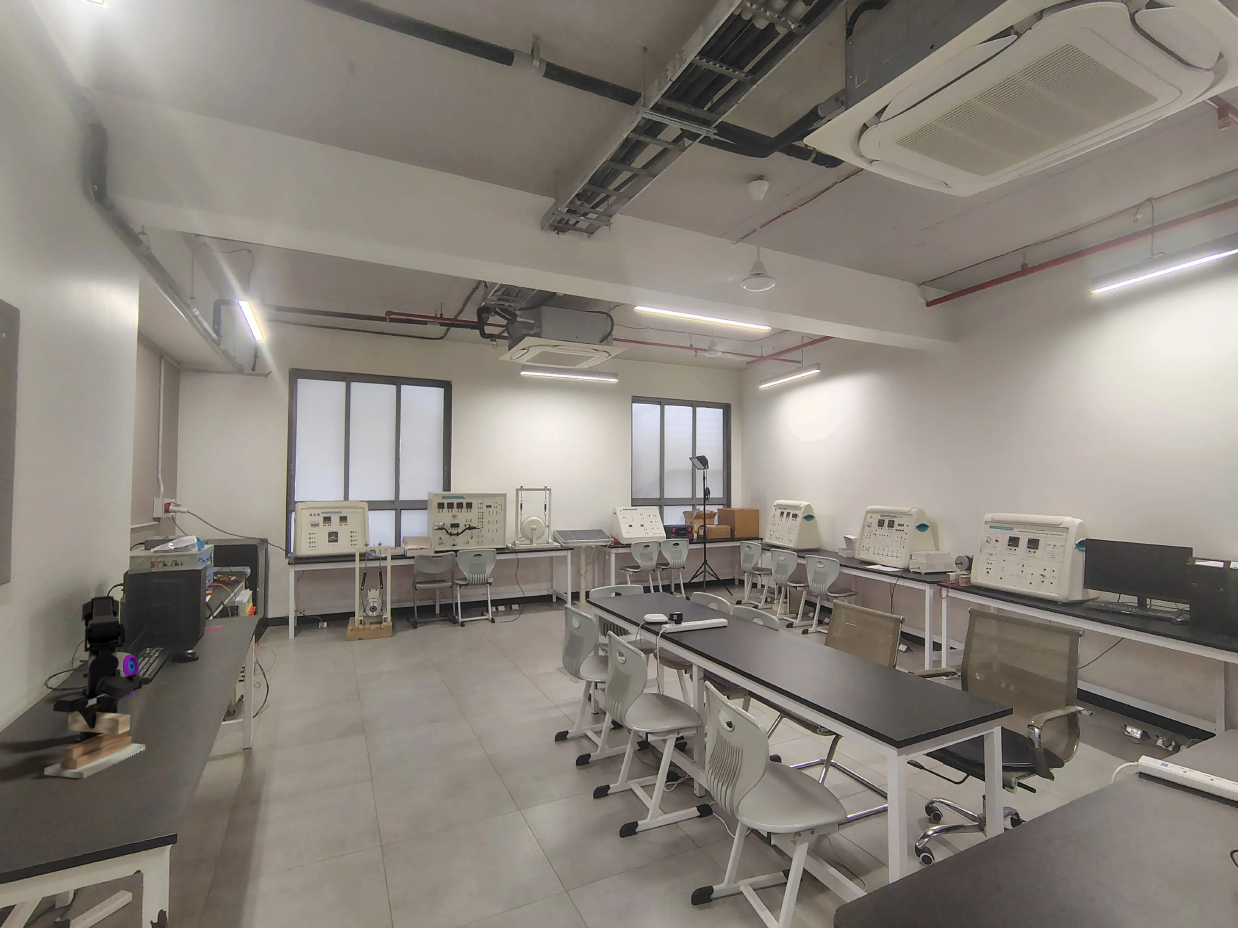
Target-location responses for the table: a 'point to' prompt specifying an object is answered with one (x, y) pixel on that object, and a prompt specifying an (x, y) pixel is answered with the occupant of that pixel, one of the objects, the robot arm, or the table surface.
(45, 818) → the table surface
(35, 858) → the table surface
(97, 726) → the light wooden block
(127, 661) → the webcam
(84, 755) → the ridge stand
